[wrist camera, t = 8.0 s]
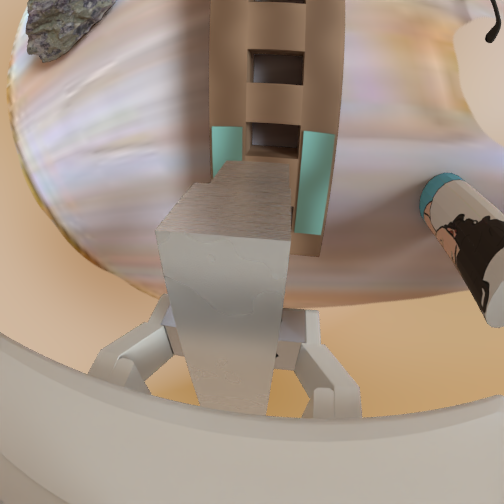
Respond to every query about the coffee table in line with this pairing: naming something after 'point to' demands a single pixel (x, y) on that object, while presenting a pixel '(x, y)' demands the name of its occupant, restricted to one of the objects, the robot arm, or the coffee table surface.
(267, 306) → the tall white block
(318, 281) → the coffee table surface
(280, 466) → the robot arm
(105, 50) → the coffee table surface
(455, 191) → the cup
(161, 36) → the coffee table surface
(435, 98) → the coffee table surface
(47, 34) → the mineral rock
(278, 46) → the slotted brown block
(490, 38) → the sunglasses
